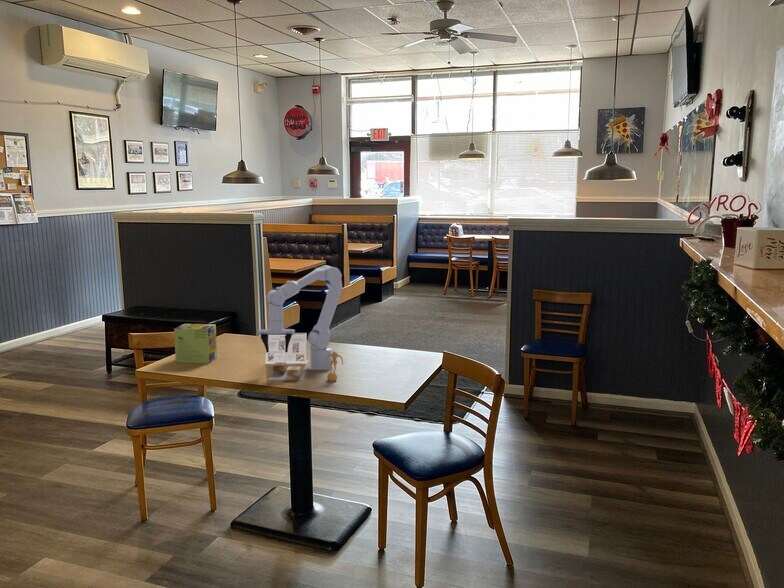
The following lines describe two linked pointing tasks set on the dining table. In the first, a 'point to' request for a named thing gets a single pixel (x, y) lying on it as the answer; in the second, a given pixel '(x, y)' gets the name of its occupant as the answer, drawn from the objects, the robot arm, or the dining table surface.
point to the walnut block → (279, 368)
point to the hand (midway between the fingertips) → (277, 351)
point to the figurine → (332, 375)
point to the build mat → (285, 376)
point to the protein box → (195, 343)
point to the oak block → (293, 372)
